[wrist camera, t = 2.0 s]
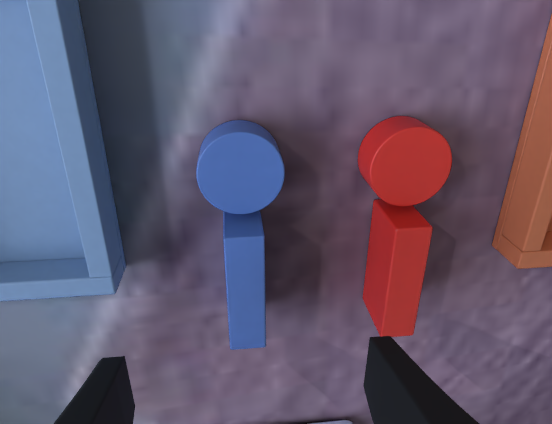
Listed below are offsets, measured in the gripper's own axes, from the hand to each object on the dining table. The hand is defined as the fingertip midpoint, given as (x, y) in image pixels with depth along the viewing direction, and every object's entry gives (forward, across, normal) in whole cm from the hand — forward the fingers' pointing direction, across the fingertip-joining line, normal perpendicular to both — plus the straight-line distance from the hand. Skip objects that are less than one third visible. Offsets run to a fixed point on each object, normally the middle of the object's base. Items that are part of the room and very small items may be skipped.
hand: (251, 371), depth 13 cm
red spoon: (+6, -6, -2) cm, 9 cm away
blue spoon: (+6, 0, -2) cm, 6 cm away
